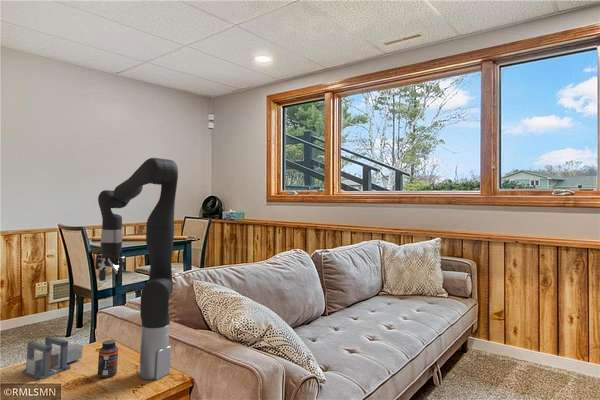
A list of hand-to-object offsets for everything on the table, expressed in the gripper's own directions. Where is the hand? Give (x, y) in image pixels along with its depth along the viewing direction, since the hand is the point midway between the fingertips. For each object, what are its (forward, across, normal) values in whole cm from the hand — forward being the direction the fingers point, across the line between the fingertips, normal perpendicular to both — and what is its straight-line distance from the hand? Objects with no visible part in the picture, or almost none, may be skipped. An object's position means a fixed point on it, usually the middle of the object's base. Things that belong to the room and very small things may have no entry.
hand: (109, 281), depth 150 cm
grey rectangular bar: (+26, -3, -18) cm, 32 cm away
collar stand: (+27, -3, -22) cm, 35 cm away
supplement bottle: (+28, +17, -14) cm, 35 cm away
